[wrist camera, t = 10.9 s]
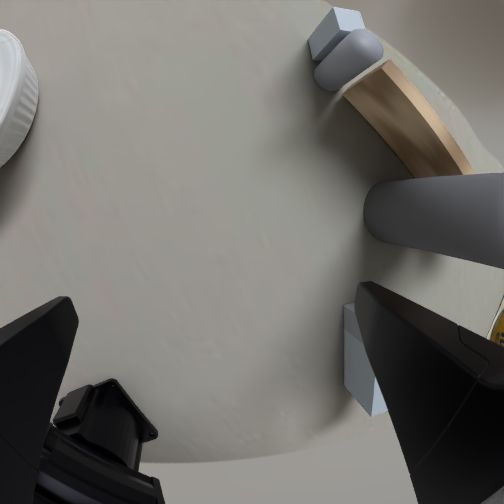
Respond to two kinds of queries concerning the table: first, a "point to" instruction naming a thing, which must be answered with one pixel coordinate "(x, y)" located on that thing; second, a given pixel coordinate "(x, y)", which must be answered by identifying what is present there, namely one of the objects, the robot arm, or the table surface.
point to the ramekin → (15, 95)
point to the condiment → (498, 327)
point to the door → (407, 123)
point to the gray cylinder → (442, 215)
